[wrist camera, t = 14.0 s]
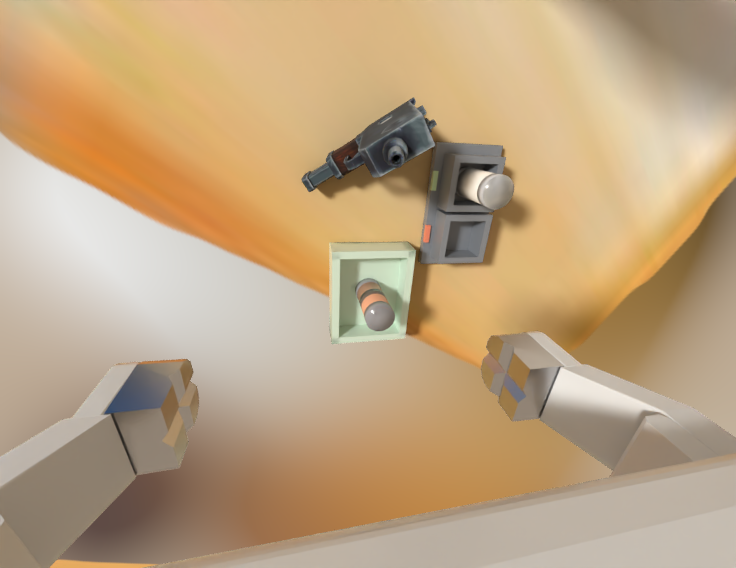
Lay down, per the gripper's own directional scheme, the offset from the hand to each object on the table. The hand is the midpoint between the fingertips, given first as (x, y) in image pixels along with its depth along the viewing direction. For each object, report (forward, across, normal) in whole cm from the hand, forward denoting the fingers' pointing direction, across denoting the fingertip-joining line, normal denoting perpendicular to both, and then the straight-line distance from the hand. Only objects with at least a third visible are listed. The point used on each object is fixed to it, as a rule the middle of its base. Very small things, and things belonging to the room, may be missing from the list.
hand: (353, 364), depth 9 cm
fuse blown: (+34, -8, +15) cm, 38 cm away
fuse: (+33, -20, -1) cm, 39 cm away
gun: (+34, -6, -4) cm, 35 cm away
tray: (+34, -8, +15) cm, 38 cm away
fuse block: (+34, -20, +3) cm, 40 cm away
